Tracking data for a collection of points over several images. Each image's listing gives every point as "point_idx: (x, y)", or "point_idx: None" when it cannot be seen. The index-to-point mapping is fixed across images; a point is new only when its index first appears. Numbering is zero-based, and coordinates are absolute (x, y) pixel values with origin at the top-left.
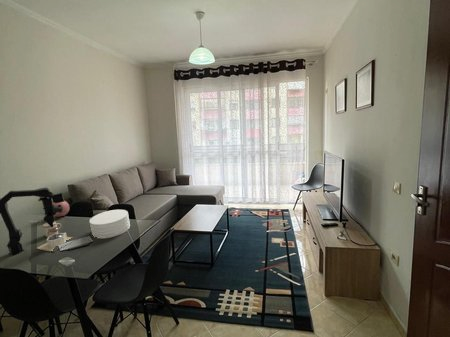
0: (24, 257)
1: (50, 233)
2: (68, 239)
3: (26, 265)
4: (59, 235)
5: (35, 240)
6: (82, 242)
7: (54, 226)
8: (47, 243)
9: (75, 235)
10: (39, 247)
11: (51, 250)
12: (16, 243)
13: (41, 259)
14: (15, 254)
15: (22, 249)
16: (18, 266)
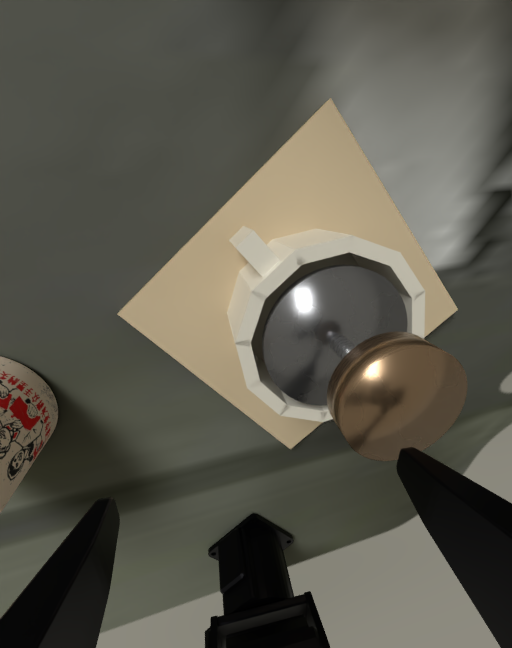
0: (369, 474)
1: (41, 425)
2: (292, 207)
3: (488, 431)
4: (340, 302)
5: (89, 501)
6: (461, 37)
7: None
8: (254, 394)
9: (181, 128)
10: (295, 432)
11: (428, 333)
12: (317, 615)
13: (486, 370)
14: (289, 534)
15: (243, 526)
16: (463, 465)
